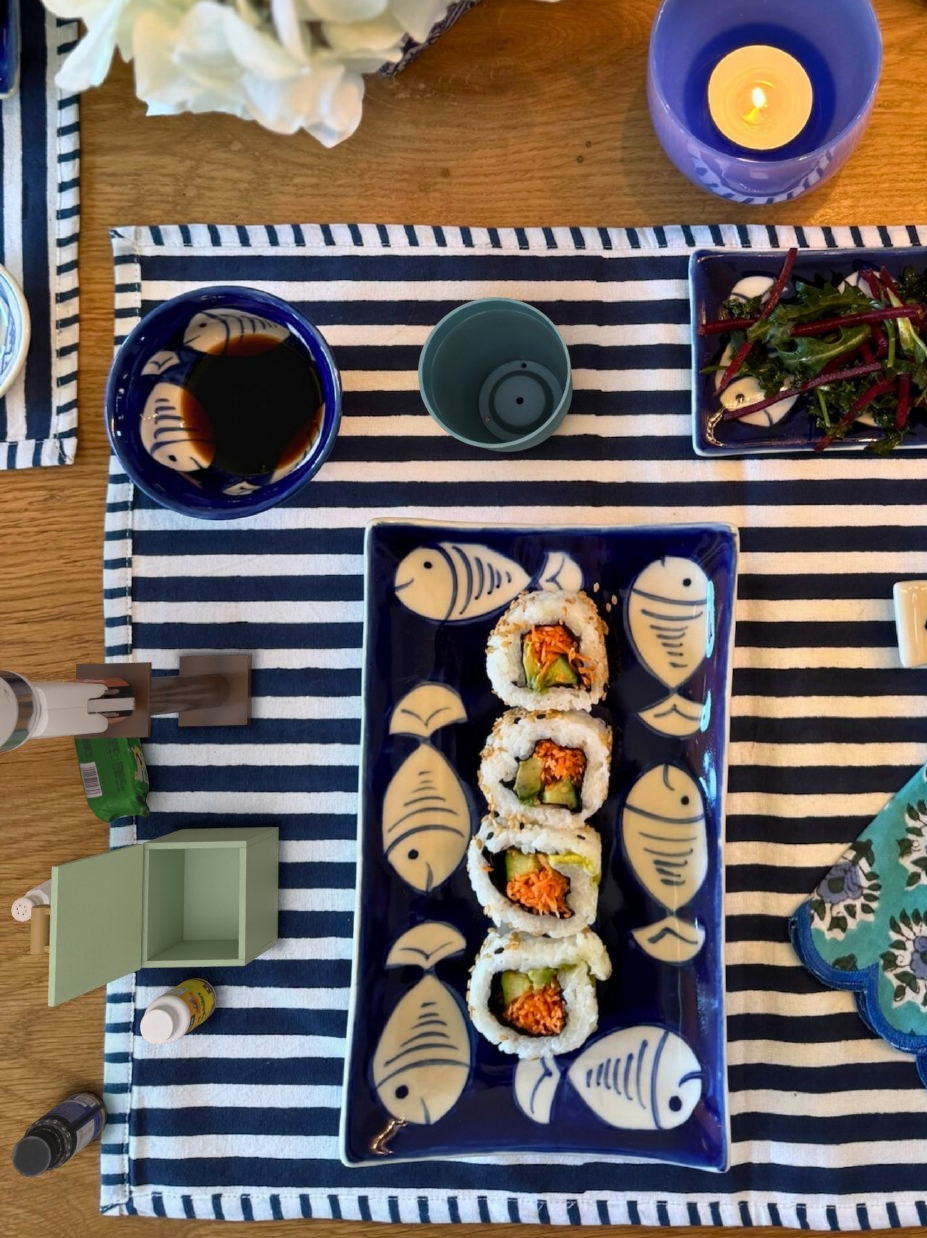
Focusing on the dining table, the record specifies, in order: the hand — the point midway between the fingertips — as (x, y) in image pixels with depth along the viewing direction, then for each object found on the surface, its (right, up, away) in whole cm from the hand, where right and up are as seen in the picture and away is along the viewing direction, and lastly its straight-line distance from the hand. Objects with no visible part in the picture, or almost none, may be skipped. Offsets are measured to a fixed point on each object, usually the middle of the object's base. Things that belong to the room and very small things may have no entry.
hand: (102, 701), depth 115 cm
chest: (+3, -27, +24) cm, 37 cm away
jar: (0, 0, +2) cm, 2 cm away
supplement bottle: (-1, -41, +23) cm, 47 cm away
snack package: (-11, -11, +26) cm, 31 cm away
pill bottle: (-14, -56, +22) cm, 62 cm away
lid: (-4, -26, +8) cm, 27 cm away
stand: (+1, -2, +27) cm, 27 cm away
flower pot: (+40, +35, +30) cm, 61 cm away
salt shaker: (-17, -28, +25) cm, 41 cm away
